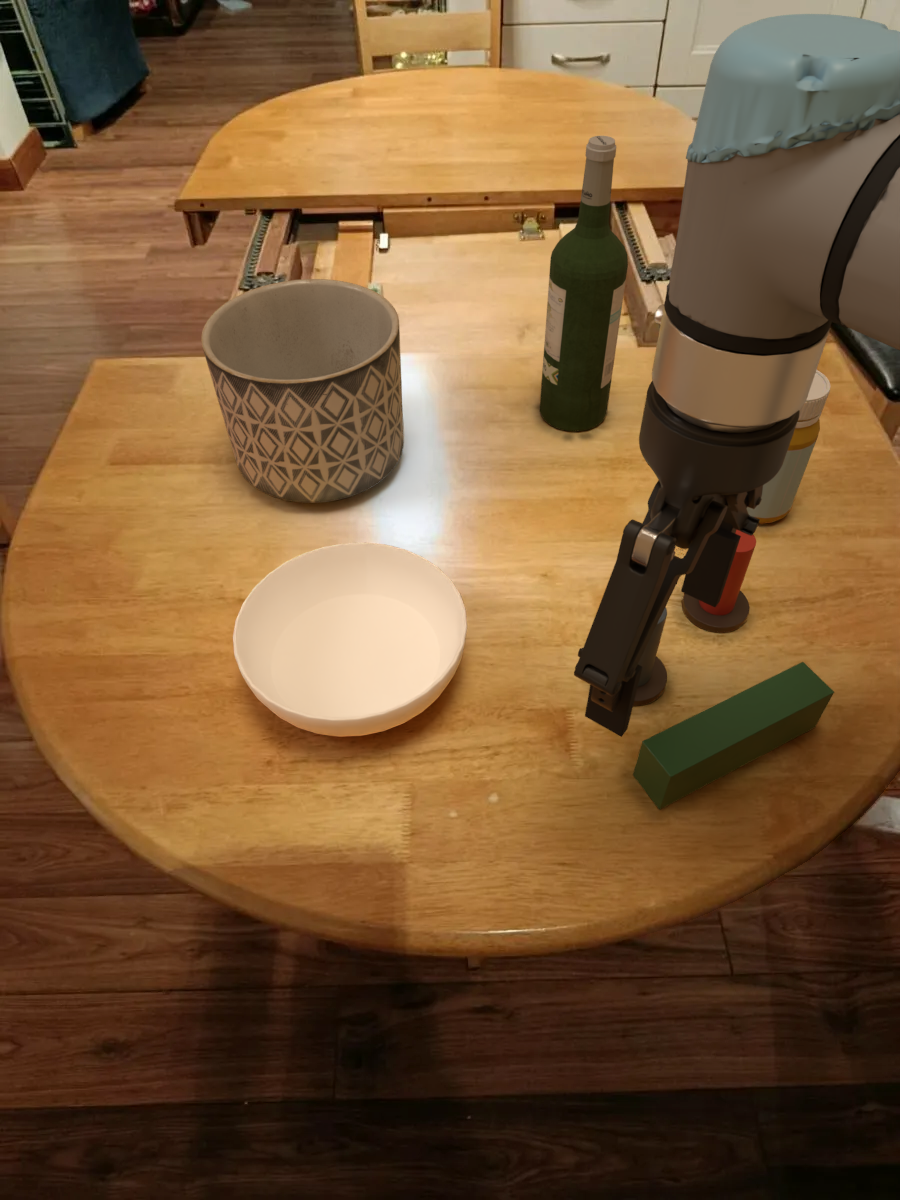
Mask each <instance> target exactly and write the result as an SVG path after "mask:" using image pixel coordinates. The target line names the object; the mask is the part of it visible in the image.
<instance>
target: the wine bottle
mask: <svg viewBox="0 0 900 1200" xmlns="http://www.w3.org/2000/svg"><path fill="white" fill-rule="evenodd" d="M616 155H617V144H616V140H615V138H613V137H612V136H608V135H594V136H591V137H589V139H588V142H587V144H586V146H585V164H584V172H583V179H582V185H581V186H582V188H581V195H580V203H579V210H578V218H577V221H576V224H575V226H574V227H573V228H572V229H571V230H570V231H568V232H567V233H566V234H565V235H563V236H562V237H561V238H560V239H559V240H558V241H557V242H556V244H555V246H554V248H553V249H552V251H551V255H550V259H549V261H550V262H549V275H548V276H549V277H548V289H547V303H546V318H545V328H544V329H545V331H544V342H543V343H544V344H543V359H542V369H541V370H542V371H541V372H542V373H541V382H540V383H541V384H540V385H541V386H540V399H539V413H540V416H541V417H542V419H543V420H544V421H545V422H546V423H547V424H548V425H550V426H551V427H553V428H555V429H558V430H561V431H565V432H576V433H577V432H585V431H589V430H592V429H594V428H596V427H598V426H599V425H600V424H601V423H603V421H604V420H605V418H606V416H607V414H608V406H609V400H610V393H611V386H612V378H613V373H614V372H613V371H614V365H615V359H616V350H617V345H618V338H619V330H620V323H621V316H622V310H623V303H624V302H623V301H624V296H625V289H626V288H625V287H626V281H627V274H628V268H629V267H628V266H629V260H628V259H629V258H628V252H627V250H626V246H625V245H624V244H623V242H622V241H621V240H620V239H619V237H618V236H617V235H616V233H614V232H613V231H612V229H611V227H610V222H609V221H610V210H611V198H612V186H613V174H614V164H615V163H614V162H615V158H616Z"/></svg>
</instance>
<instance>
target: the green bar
mask: <svg viewBox="0 0 900 1200" xmlns="http://www.w3.org/2000/svg"><path fill="white" fill-rule="evenodd" d="M834 694H835V691H834V690H833V689H832V688H831V687H830V686H829V685H828V684H827V683H826V682H825V681H824V680H823V679H822V678H821V677H820V676H819V675H817V673H815V671H814V670H813V669H812V668H811V667H809V665H807V664H806V662H804V661H801V662H798V663H797V664H795V665H793V666H790V667H789V668H787V669H785V670H783V671H781V672H779V673H777V674H775V675H773V676H771V677H768V678H767V679H765V680H763V681H761V682H758V683H757V684H755V685H752V686H751V687H749V688H746V689H745V690H743V691H741V692H738V693H736V694H735V695H732V696H731V697H728V698H727V699H724V700H722V701H721V702H718V703H717V704H714V705H712V706H710V707H708V708H706V709H704V710H702V711H700V712H698V713H695V714H694V715H692V716H690V717H688V718H686V719H683V720H682V721H680V722H678V723H676V724H674V725H672V726H670V727H668V728H666V729H664V730H661V731H659V732H658V733H656V734H654V735H652V736H650V737H648V738H646V739H644V740H642V741H641V745H640V748H639V752H638V755H637V759H636V762H635V766H634V770H633V773H632V776H633V777H634V779H635V780H636V781H637V783H638V784H639V786H641V788H642V789H643V790H644V792H645V793H646V795H647V796H648V797H649V798H650V799H651V801H652V802H653V804H654V805H655V806H656V807H657V808H658V810H659V811H660V810H662V809H664V808H665V807H668V806H670V805H671V804H673V803H676V802H677V801H679V800H681V799H682V798H685V797H686V796H689V795H691V794H692V793H694V792H696V791H698V790H701V788H704V787H705V786H707V785H710V784H711V783H714V782H715V781H717V780H719V779H721V778H722V777H725V776H726V775H728V774H730V773H732V772H734V771H736V770H737V769H740V768H741V767H743V766H745V765H747V764H749V763H751V762H752V761H754V760H756V759H759V758H760V757H762V756H764V755H766V754H768V753H769V752H772V751H773V750H775V749H777V748H779V747H781V746H783V745H785V744H787V743H789V742H791V741H792V740H794V739H796V738H798V737H800V736H802V735H803V734H805V733H807V732H810V731H811V730H813V729H815V728H816V727H817V725H818V723H819V721H820V720H821V718H822V716H823V714H824V712H825V710H826V709H827V708H828V705H829V703H830V701H831V700H832V697H833V696H834Z"/></svg>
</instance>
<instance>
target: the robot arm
mask: <svg viewBox="0 0 900 1200" xmlns="http://www.w3.org/2000/svg"><path fill="white" fill-rule="evenodd" d="M700 103H701V104H700V109H699V111H698V116H697V121H696V125H695V128H694V132H693V136H692V141H691V143H690V144H689V145H688V147H687V152H686V156H685V160H687V164H686V171H685V177H684V185H683V193H682V199H681V207H680V213H679V220H678V227H677V234H676V239H675V245H674V251H673V257H672V263H671V270H670V276H669V282H668V284H667V285H666V292H665V299H664V302H663V304H660V305H658V307H657V308H656V310H655V311H654V313H653V321H654V322H655V324H657V325H658V326H659V325H660V326H659V331H658V337H657V342H656V347H655V352H654V357H653V364H652V368H651V382H650V384H648V387H647V390H646V396H645V401H644V406H643V412H642V418H641V422H640V423H641V424H640V429H639V435H638V444H639V449H640V453H641V455H642V458H643V459H644V460H645V462H646V464H647V465H648V466H649V467H650V469H651V470H652V472H653V473H654V475H655V476H656V478H657V481H656V483H655V484H654V487H653V489H652V491H651V493H650V495H649V497H648V499H647V512H646V514H645V517H644V519H643V521H642V522H640V521H637V520H635V519H630V520H629V521H628V523H627V524H625V526H624V527H623V530H622V536H621V540H620V543H619V544H620V545H619V548H618V552H617V557H616V560H615V563H614V566H613V569H612V570H611V574H610V577H609V579H608V582H607V584H606V587H605V589H604V592H603V595H602V598H601V600H600V603H599V605H598V608H597V611H596V613H595V616H594V618H593V621H592V624H591V626H590V629H589V632H588V634H587V637H586V640H585V642H584V645H583V647H579V649H578V652H577V657H578V661H577V663H576V665H575V667H574V671H573V676H574V677H576V678H578V679H579V680H581V681H583V682H585V683H586V684H588V685H589V689H588V694H587V696H588V697H587V700H586V707H585V712H584V717H585V718H587V719H589V720H590V721H592V722H594V723H595V724H598V725H599V726H601V727H603V728H604V729H606V730H608V731H609V732H612V733H613V734H615V735H617V736H619V737H620V738H623V736H624V735H625V733H626V732H627V730H628V728H629V724H630V721H631V716H632V712H633V707H634V706H633V704H634V700H635V696H636V692H637V688H638V684H639V680H640V676H641V672H642V666H640V665H638V663H639V661H640V659H641V657H642V654H643V652H644V650H645V648H646V646H647V644H648V642H649V640H650V638H651V636H652V634H653V632H654V630H655V627H656V625H657V623H658V621H659V619H660V617H661V615H662V613H663V611H664V609H665V607H666V606H667V604H668V603H669V600H670V598H671V596H672V594H673V592H674V590H675V588H676V586H677V584H678V582H679V579H680V578H681V577H682V576H684V575H685V576H684V579H683V582H682V586H681V590H680V592H681V593H683V594H684V593H685V594H687V595H689V596H692V597H694V598H696V599H698V600H700V601H702V602H704V603H706V604H708V605H711V606H713V607H716V606H717V604H718V603H719V602H720V599H721V596H722V593H723V590H724V587H725V584H726V581H727V577H728V574H729V571H730V568H731V565H732V562H733V559H734V556H735V553H736V550H737V547H738V544H739V541H740V537H741V536H740V535H737V534H735V533H736V530H739V531H741V532H743V533H746V534H748V535H750V536H752V535H754V533H756V530H757V529H758V526H759V521H760V519H757V518H755V517H753V516H750V515H749V514H748V511H747V507H749V508H752V509H755V508H756V507H757V505H759V504H760V502H761V500H762V499H761V497H762V491H763V485H764V484H766V483H768V482H769V481H770V480H771V479H773V478H774V477H775V476H776V474H777V473H778V472H779V470H780V469H781V467H782V465H783V462H784V459H785V456H786V454H787V451H788V448H789V445H790V442H791V439H792V436H793V433H794V430H795V427H796V424H797V422H798V419H799V413H800V411H799V410H800V409H801V408H802V406H803V405H804V403H805V402H806V400H807V397H808V394H809V391H810V388H811V385H812V382H813V379H814V376H815V373H816V370H818V366H819V363H820V361H821V358H822V355H823V352H824V349H825V346H826V342H827V340H828V336H829V333H830V330H831V326H832V324H836V325H839V326H840V327H842V328H844V329H850V330H852V331H855V332H857V333H859V334H861V335H863V336H865V337H868V338H870V339H873V340H874V341H877V342H879V343H882V344H884V345H886V346H888V347H891V348H893V349H895V350H898V351H900V31H899V30H897V29H889V28H888V26H887V25H886V24H885V23H881V22H878V21H875V20H870V19H865V18H861V17H856V16H849V15H842V14H841V15H840V14H831V13H794V14H783V15H775V16H770V17H765V18H761V19H758V20H755V21H753V22H751V23H750V22H749V23H747V24H744V25H742V26H740V27H739V28H737V29H735V30H734V31H732V32H731V33H730V34H729V35H728V36H727V37H726V38H725V39H724V40H723V41H721V43H720V45H719V46H718V47H717V50H716V51H715V53H714V55H713V56H712V60H711V63H710V65H709V70H708V73H707V78H706V83H705V87H704V92H703V96H702V99H701V102H700ZM676 547H677V548H678V549H679V548H680V549H681V550H686V553H685V555H684V556H683V557H682V558H681V557H679V556H677V555H676V551H675V550H676ZM666 608H667V607H666Z"/></svg>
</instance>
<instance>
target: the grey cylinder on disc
mask: <svg viewBox="0 0 900 1200" xmlns="http://www.w3.org/2000/svg"><path fill="white" fill-rule="evenodd" d="M667 616H668V610H667V607H665V609H664V611H663V613H662V615H661V617H660V619H659V621H658V623H657V625H656V627H655V630H654V632H653V634H652V636H651V638H650V640H649V642H648V644H647V646H646V648H645V650H644V652H643V654H642V657H641V659H640V661H639V663H638V665H640V666H642V672H641V676H640V680H639V684H638V688H637V692H636V696H635V700H634V704H633V707H639V706H645V705H648V704H649V705H650V704H651V703H653V702H655V701H657V699H659V698H660V697H661V695H663V693H664V691H665V689H666V685H667V682H668V673H667V668H666V666H665V664H664V663H663V662H662V660H661V659H660V658H659V657H658V656H657V654H658V651H659V647H660V643H661V639H662V635H663V632H664V629H665V628H664V627H665V624H666V620H667Z"/></svg>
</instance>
